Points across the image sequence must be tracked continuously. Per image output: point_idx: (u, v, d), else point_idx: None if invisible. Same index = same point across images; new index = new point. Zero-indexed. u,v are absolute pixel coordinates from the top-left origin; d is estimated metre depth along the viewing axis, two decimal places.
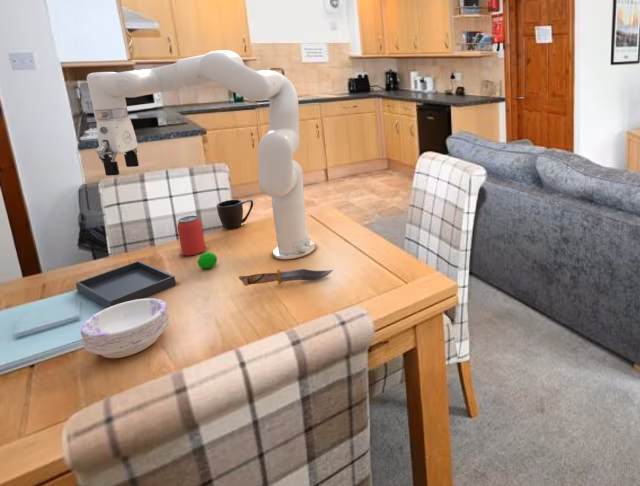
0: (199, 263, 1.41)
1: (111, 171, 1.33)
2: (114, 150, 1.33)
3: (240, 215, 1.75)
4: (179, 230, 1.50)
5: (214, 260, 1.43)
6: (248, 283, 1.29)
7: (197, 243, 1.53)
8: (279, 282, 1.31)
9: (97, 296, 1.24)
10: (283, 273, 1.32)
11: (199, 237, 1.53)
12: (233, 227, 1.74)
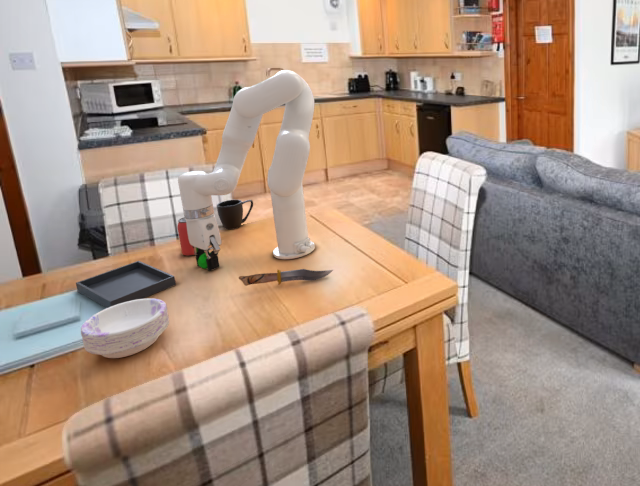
0: (199, 263, 1.41)
1: (216, 265, 1.42)
2: (219, 242, 1.41)
3: (240, 215, 1.75)
4: (179, 230, 1.50)
5: None
6: (248, 283, 1.29)
7: None
8: (279, 282, 1.31)
9: (97, 296, 1.24)
10: (283, 273, 1.32)
11: None
12: (233, 227, 1.74)
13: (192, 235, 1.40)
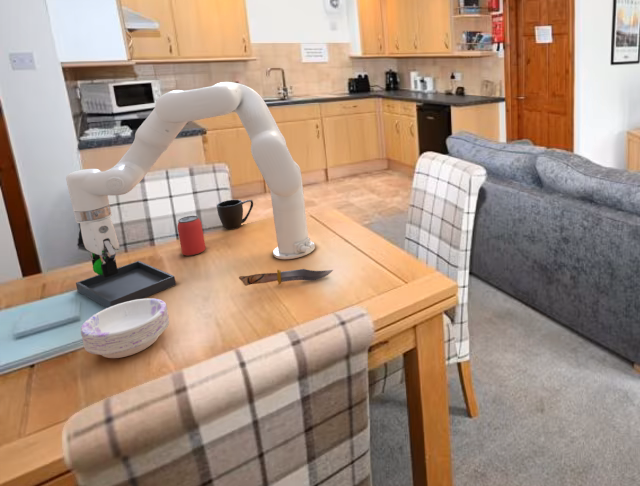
0: (94, 269, 1.30)
1: (113, 271, 1.31)
2: (116, 247, 1.30)
3: (240, 215, 1.75)
4: (179, 230, 1.50)
5: None
6: (248, 283, 1.29)
7: (197, 243, 1.53)
8: (279, 282, 1.31)
9: (97, 296, 1.24)
10: (283, 273, 1.32)
11: (199, 237, 1.53)
12: (233, 227, 1.74)
13: (85, 239, 1.28)
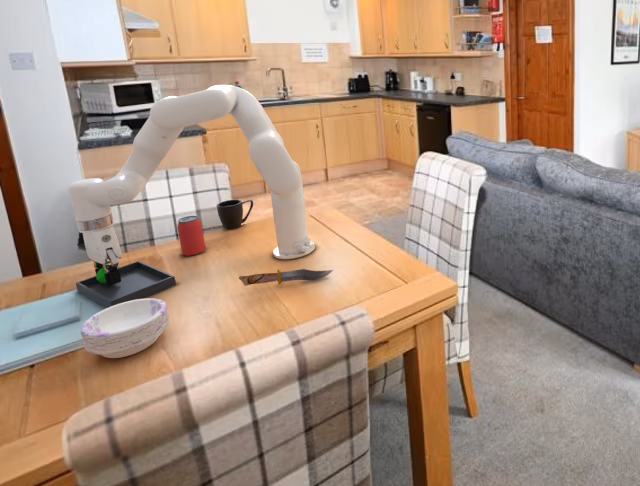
0: (97, 278, 1.31)
1: (116, 279, 1.31)
2: (119, 255, 1.31)
3: (240, 215, 1.75)
4: (179, 230, 1.50)
5: None
6: (248, 283, 1.29)
7: (197, 243, 1.53)
8: (279, 282, 1.31)
9: (97, 296, 1.24)
10: (283, 273, 1.32)
11: (199, 237, 1.53)
12: (233, 227, 1.74)
13: (88, 248, 1.29)
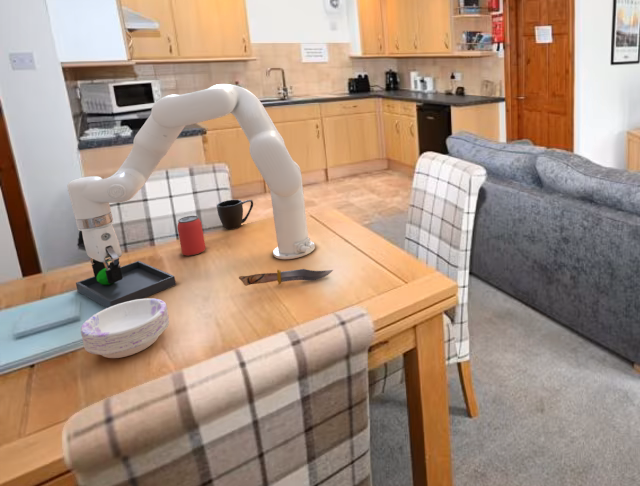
0: (98, 279, 1.31)
1: (118, 277, 1.30)
2: (118, 254, 1.30)
3: (240, 215, 1.75)
4: (179, 230, 1.50)
5: None
6: (248, 283, 1.29)
7: (197, 243, 1.53)
8: (279, 282, 1.31)
9: (97, 296, 1.24)
10: (283, 273, 1.32)
11: (199, 237, 1.53)
12: (233, 227, 1.74)
13: (88, 246, 1.29)
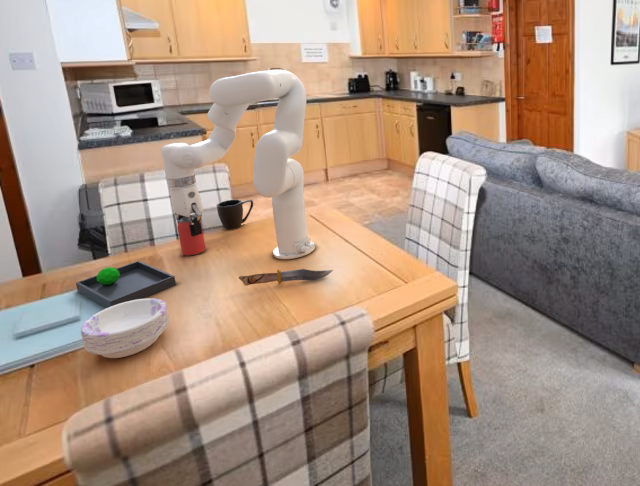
0: (98, 279, 1.31)
1: (199, 231, 1.51)
2: (200, 210, 1.51)
3: (240, 215, 1.75)
4: (179, 230, 1.50)
5: (115, 276, 1.33)
6: (248, 283, 1.29)
7: (197, 243, 1.53)
8: (279, 282, 1.31)
9: (97, 296, 1.24)
10: (283, 273, 1.32)
11: (199, 237, 1.53)
12: (233, 227, 1.74)
13: (175, 203, 1.49)
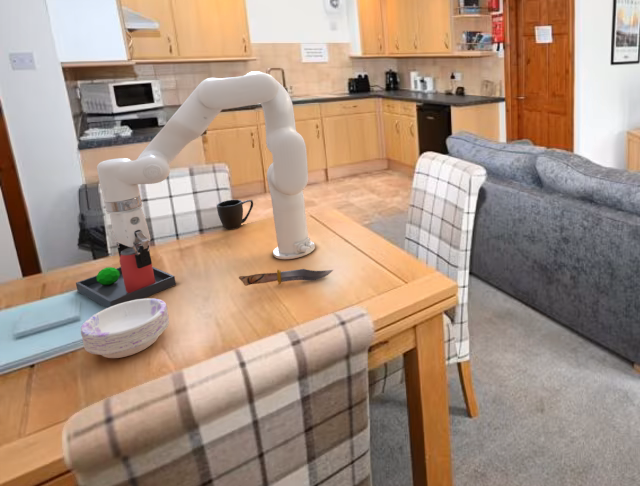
0: (98, 279, 1.31)
1: (147, 261, 1.26)
2: (147, 238, 1.26)
3: (240, 215, 1.75)
4: (121, 264, 1.25)
5: (115, 276, 1.33)
6: (248, 283, 1.29)
7: (144, 279, 1.28)
8: (279, 282, 1.31)
9: (97, 296, 1.24)
10: (283, 273, 1.32)
11: (147, 272, 1.28)
12: (233, 227, 1.74)
13: (116, 230, 1.25)
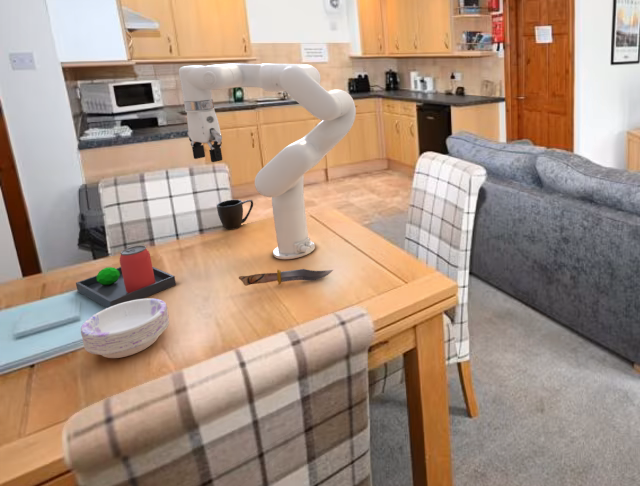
0: (98, 279, 1.31)
1: (219, 157, 1.44)
2: None
3: (240, 215, 1.75)
4: (121, 264, 1.25)
5: (115, 276, 1.33)
6: (248, 283, 1.29)
7: (144, 279, 1.28)
8: (279, 282, 1.31)
9: (97, 296, 1.24)
10: (283, 273, 1.32)
11: (147, 272, 1.28)
12: (233, 227, 1.74)
13: (193, 129, 1.43)
